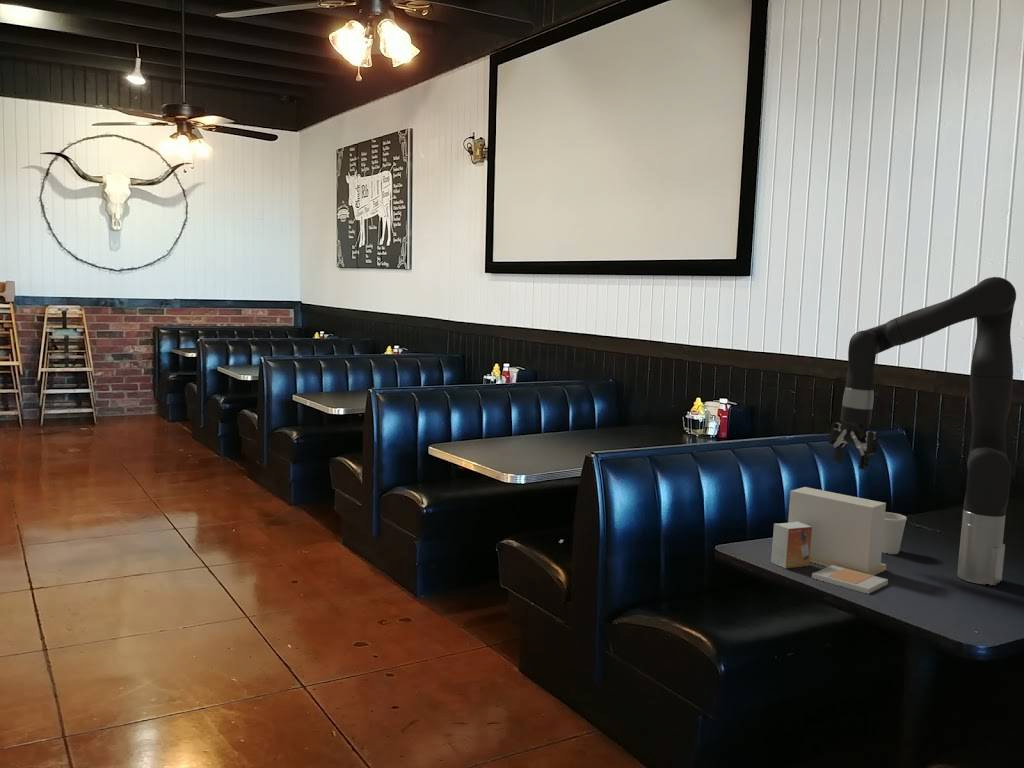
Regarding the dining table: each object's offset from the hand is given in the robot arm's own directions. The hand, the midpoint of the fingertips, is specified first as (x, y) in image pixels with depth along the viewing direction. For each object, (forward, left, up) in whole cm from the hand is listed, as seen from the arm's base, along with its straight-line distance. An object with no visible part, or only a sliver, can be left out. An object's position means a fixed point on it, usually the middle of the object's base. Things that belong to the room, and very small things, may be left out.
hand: (849, 465), depth 229 cm
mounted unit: (-1, +8, -25) cm, 26 cm away
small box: (+5, +19, -25) cm, 32 cm away
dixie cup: (-6, -15, -25) cm, 29 cm away
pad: (-11, +20, -25) cm, 34 cm away
